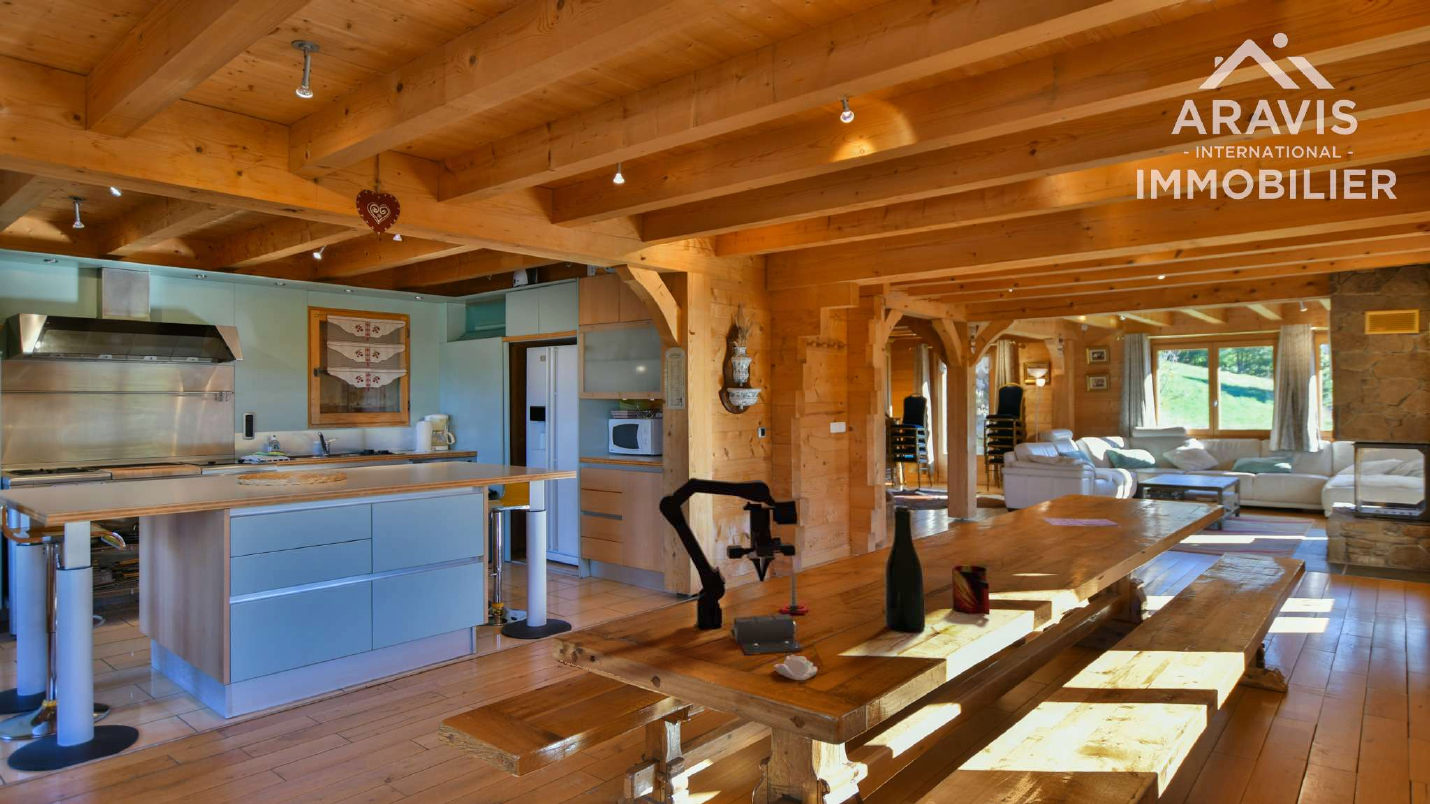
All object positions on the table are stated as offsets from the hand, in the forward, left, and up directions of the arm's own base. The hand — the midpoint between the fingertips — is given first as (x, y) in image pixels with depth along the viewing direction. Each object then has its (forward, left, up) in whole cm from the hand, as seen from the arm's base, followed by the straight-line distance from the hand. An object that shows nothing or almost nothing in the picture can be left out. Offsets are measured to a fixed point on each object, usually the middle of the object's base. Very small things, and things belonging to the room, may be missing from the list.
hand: (761, 581), depth 222 cm
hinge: (-2, -14, -12) cm, 19 cm away
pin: (-2, -14, -12) cm, 19 cm away
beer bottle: (+37, -12, -12) cm, 41 cm away
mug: (+63, 0, -12) cm, 64 cm away
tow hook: (+12, +12, -12) cm, 21 cm away
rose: (0, -40, -12) cm, 42 cm away
